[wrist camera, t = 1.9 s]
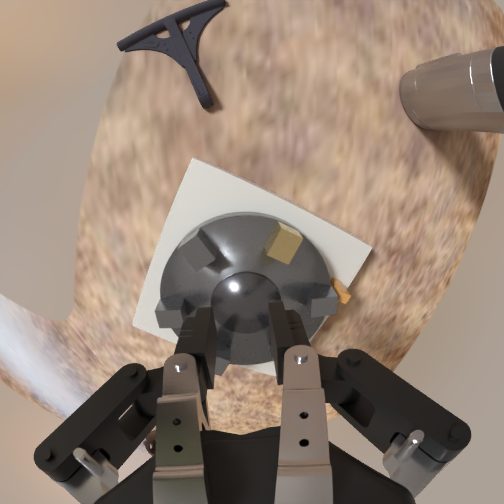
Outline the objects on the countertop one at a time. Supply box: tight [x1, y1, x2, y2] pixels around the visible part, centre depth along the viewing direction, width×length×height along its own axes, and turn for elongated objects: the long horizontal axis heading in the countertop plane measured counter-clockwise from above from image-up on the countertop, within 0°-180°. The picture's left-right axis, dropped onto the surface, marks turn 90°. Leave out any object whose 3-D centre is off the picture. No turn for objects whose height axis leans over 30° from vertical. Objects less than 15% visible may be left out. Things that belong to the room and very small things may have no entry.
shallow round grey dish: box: [155, 212, 338, 376], centre depth 31 cm, size 20×20×5 cm
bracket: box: [117, 0, 225, 109], centre depth 25 cm, size 14×15×3 cm
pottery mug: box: [143, 430, 156, 456], centre depth 48 cm, size 12×9×8 cm
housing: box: [132, 157, 373, 376], centre depth 33 cm, size 24×24×7 cm
